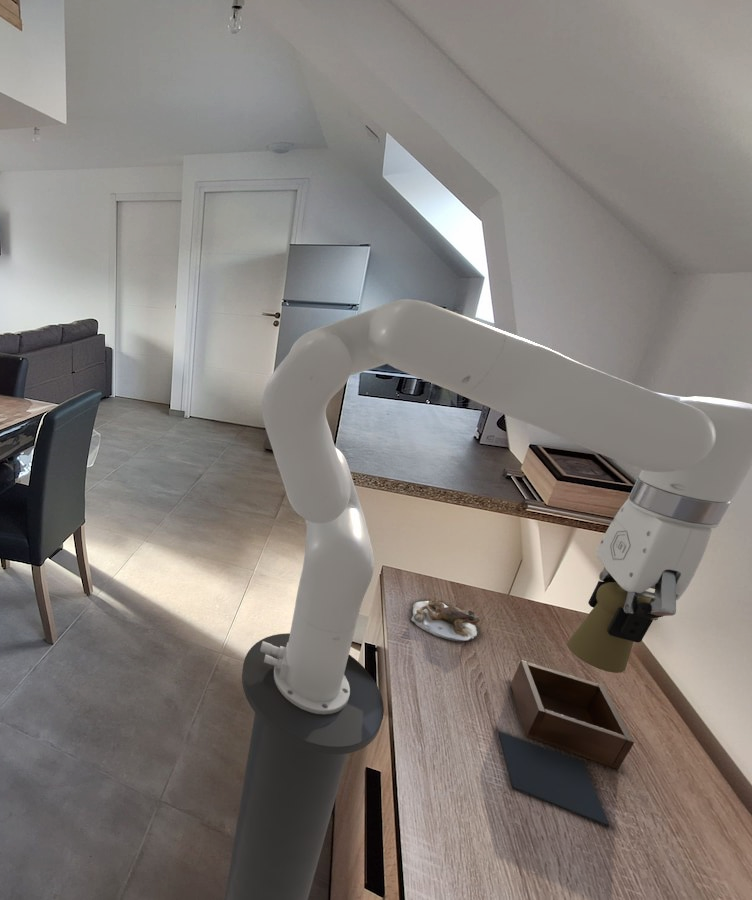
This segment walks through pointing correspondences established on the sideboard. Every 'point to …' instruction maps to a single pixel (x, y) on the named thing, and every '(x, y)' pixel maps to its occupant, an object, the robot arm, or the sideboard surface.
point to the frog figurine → (445, 620)
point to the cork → (603, 632)
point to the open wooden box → (570, 714)
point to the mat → (551, 778)
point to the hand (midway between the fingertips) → (612, 621)
